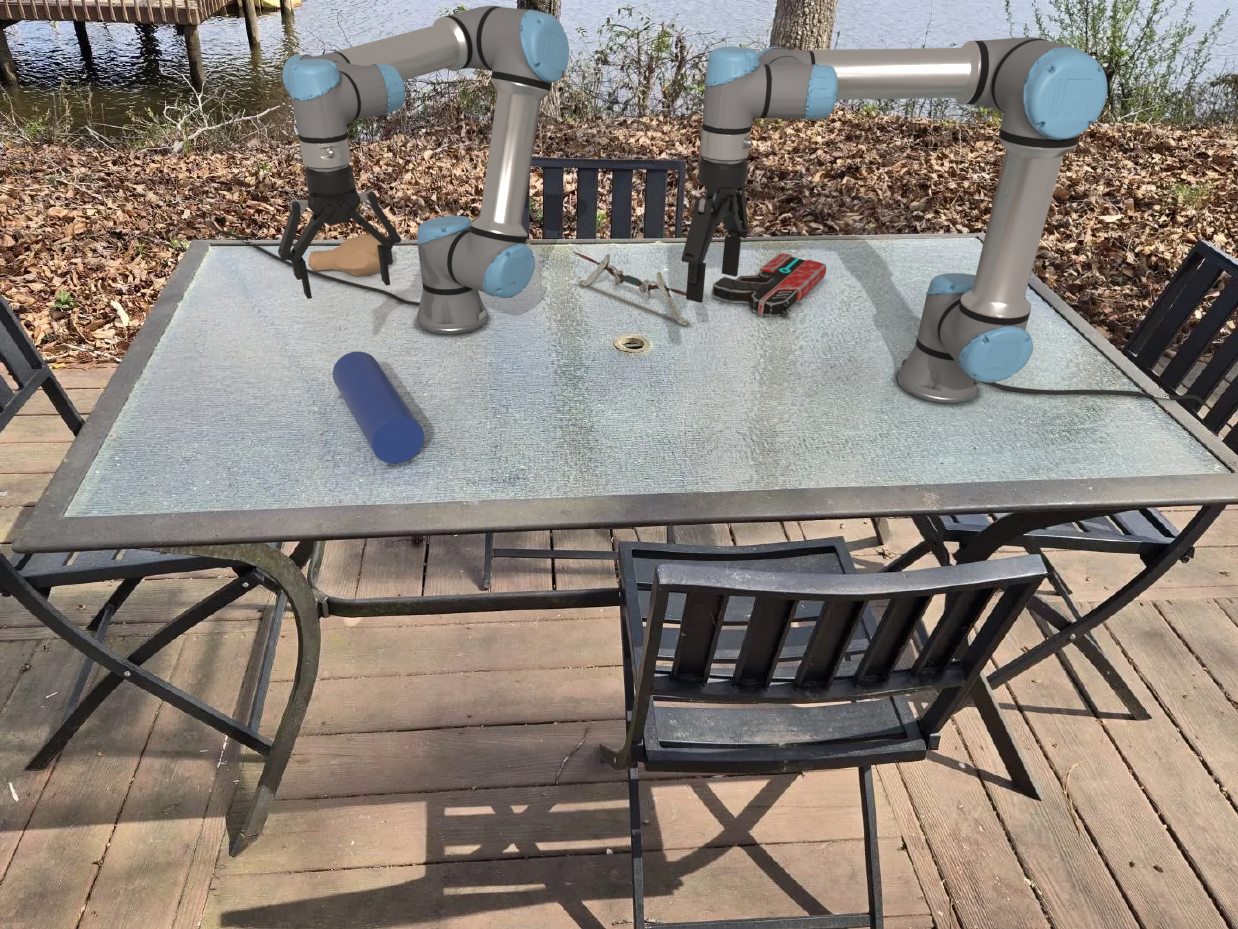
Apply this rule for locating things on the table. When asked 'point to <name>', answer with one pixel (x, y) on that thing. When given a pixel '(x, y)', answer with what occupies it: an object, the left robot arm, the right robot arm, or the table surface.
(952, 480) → the table surface
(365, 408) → the rod
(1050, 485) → the table surface
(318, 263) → the squash
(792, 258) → the gun
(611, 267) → the bow
